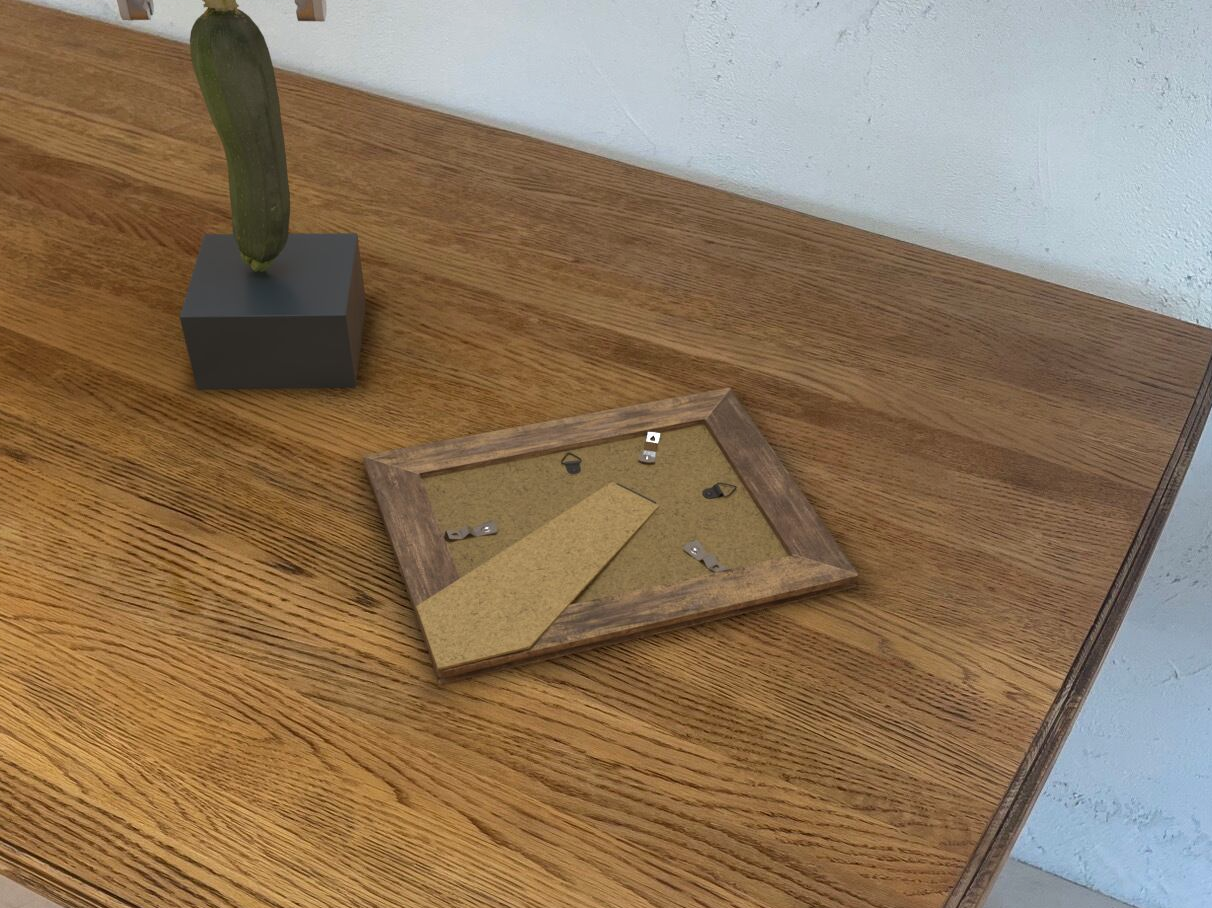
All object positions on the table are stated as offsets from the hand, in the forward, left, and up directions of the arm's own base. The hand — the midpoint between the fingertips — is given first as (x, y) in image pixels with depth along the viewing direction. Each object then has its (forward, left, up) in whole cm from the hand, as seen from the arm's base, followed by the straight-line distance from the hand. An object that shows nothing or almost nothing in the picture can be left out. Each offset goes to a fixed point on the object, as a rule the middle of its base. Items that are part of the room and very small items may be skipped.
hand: (226, 17), depth 75 cm
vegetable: (0, 0, -16) cm, 16 cm away
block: (0, 0, -22) cm, 22 cm away
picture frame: (+20, -19, -22) cm, 35 cm away
